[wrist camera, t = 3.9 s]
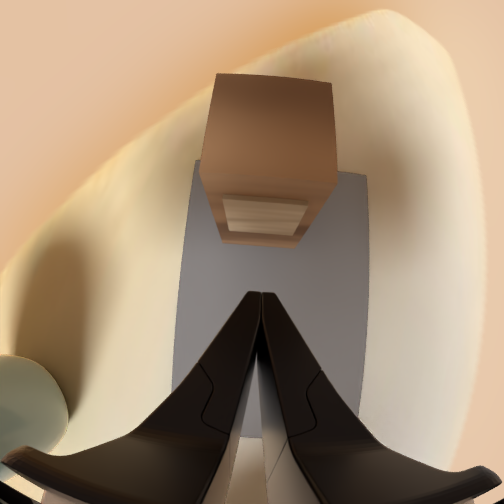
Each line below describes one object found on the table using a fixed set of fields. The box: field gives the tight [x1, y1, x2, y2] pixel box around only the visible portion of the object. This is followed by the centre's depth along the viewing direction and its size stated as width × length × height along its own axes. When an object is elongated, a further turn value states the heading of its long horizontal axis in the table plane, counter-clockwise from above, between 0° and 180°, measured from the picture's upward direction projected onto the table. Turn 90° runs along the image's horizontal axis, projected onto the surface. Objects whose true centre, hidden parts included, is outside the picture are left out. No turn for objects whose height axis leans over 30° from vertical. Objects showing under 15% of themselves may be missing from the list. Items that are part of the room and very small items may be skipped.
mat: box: [171, 160, 369, 438], centre depth 19 cm, size 18×12×1 cm, turn 176°
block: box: [199, 74, 338, 249], centre depth 15 cm, size 5×4×10 cm
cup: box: [0, 354, 68, 483], centre depth 13 cm, size 8×8×10 cm
